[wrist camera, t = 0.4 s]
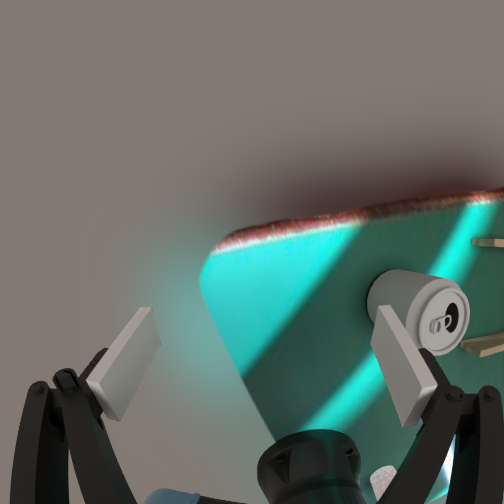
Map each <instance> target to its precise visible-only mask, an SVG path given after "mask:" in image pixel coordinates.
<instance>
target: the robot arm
mask: <svg viewBox="0 0 504 504" xmlns="http://www.w3.org/2000/svg"><path fill="white" fill-rule="evenodd" d="M160 345H161V342H160V338H159V334H158V330H157V326H156V323H155V319H154V314H153V311H152V308H150V307H140V309H139V310H138V311H137V312H136V314H135V315H134V316H133V318H132V319H131V320H130V321H129V323H128V324H127V325H126V327H125V328H124V329H123V331H122V332H121V333H120V335H119V336H118V337H117V338H116V340H115V341H114V342H113V344H112V345H111V346H110V348H104V349H102V350H101V351H99V352H98V353H97V354H96V355H95V357H94V358H93V360H92V361H91V362H90V363H89V365H88V366H87V367H86V368H85V370H84V371H83V373H82V374H81V375H80V377H79V378H78V377H77V375H76V373H75V371H74V370H73V369H70V368H65V369H62V370H59V371H58V372H56V373H55V375H54V376H53V382H54V384H55V386H56V387H57V389H50V387H49V386H48V384H47V383H46V382H45V381H38V382H36V383H33V384H32V385H31V386H30V388H29V390H28V394H27V397H26V401H25V405H24V409H23V413H22V417H21V422H20V426H19V431H18V436H17V441H16V447H15V454H14V461H13V468H12V477H11V490H10V504H69V486H68V454H69V452H68V451H69V450H70V454H71V458H72V462H73V465H74V469H75V473H76V476H77V480H78V483H79V486H80V489H81V492H82V495H83V498H84V501H85V504H137V502H136V500H135V498H134V496H133V494H132V492H131V490H130V488H129V486H128V484H127V482H126V479H125V477H124V475H123V473H122V470H121V468H120V466H119V463H118V461H117V458H116V456H115V453H114V451H113V448H112V446H111V443H110V440H109V437H108V435H107V432H106V429H105V426H104V423H103V420H102V419H101V417H100V416H101V414H102V412H104V413H105V415H106V417H107V418H109V419H112V420H116V421H121V419H122V417H123V415H124V413H125V411H126V409H127V407H128V405H129V404H130V402H131V399H132V398H133V396H134V394H135V392H136V390H137V388H138V386H139V384H140V383H141V381H142V379H143V377H144V375H145V373H146V371H147V369H148V367H149V366H150V364H151V362H152V360H153V358H154V356H155V354H156V353H157V351H158V349H159V347H160ZM371 346H372V349H373V351H374V354H375V356H376V358H377V361H378V363H379V366H380V368H381V371H382V373H383V376H384V379H385V381H386V384H387V386H388V389H389V392H390V394H391V397H392V400H393V402H394V405H395V408H396V411H397V414H398V416H399V419H400V422H401V425H402V428H403V427H408V426H412V425H416V424H417V423H418V421H419V419H420V418H422V420H423V425H422V426H421V428H420V429H419V431H418V433H417V434H416V438H415V440H414V442H413V444H412V446H411V448H410V450H409V452H408V454H407V455H406V457H405V459H404V461H403V462H402V464H401V466H400V468H399V469H398V471H397V473H396V474H395V476H394V478H393V479H392V481H391V482H390V484H389V485H388V487H387V488H386V490H385V491H384V493H383V494H382V496H381V497H380V499H379V500H378V502H377V503H376V504H424V502H425V500H426V498H427V497H428V495H429V493H430V491H431V489H432V487H433V485H434V483H435V481H436V478H437V476H438V474H439V472H440V470H441V467H442V465H443V463H444V460H445V458H446V456H447V453H448V451H449V448H450V445H451V443H452V440H453V437H454V434H456V439H455V450H454V459H453V466H452V473H451V479H450V485H449V490H448V495H447V500H446V504H502V502H503V492H504V420H503V410H502V401H501V395H500V392H499V391H498V390H497V389H496V388H495V387H493V386H484V387H482V388H481V389H480V391H479V392H478V394H465V393H464V391H463V390H462V389H461V388H459V387H457V386H452V385H451V384H450V382H449V381H448V379H447V377H446V376H445V374H444V372H443V370H442V369H441V367H439V364H438V362H437V361H436V359H435V357H434V356H433V354H432V353H431V352H430V351H428V350H427V349H426V348H421V349H417V347H416V346H415V344H414V342H413V341H412V339H411V337H410V336H409V334H408V333H407V331H406V329H405V328H404V326H403V324H402V323H401V321H400V320H399V318H398V317H397V315H396V313H395V312H394V310H393V309H392V307H391V306H390V305H383V306H378V309H377V315H376V320H375V325H374V330H373V335H372V340H371ZM360 468H361V458H360V454H359V452H358V449H357V447H356V445H355V443H354V442H353V441H352V440H351V439H350V438H349V437H348V436H346V435H344V434H342V433H339V432H336V431H330V430H312V431H305V432H301V433H297V434H294V435H291V436H288V437H286V438H284V439H282V440H280V441H278V442H276V443H275V444H273V445H272V446H271V447H269V448H268V449H267V450H266V451H265V452H264V453H263V455H262V456H261V457H260V459H259V462H258V467H257V476H258V477H257V478H258V482H259V485H260V487H261V489H262V491H263V493H264V494H265V496H266V498H267V500H268V502H269V503H270V504H367V502H366V500H365V498H364V495H363V493H362V491H361V488H360ZM143 504H245V503H238V502H231V501H225V500H219V499H214V498H209V497H204V496H200V494H197V493H194V494H190V493H185V492H180V491H176V490H171V489H166V488H161V489H157V490H155V491H153V492H152V493H151V494H150V495H149V496H148V497H147V498H146V500H145V501H144V503H143Z"/></svg>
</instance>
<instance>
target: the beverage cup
mask: <svg viewBox="0 0 504 504" xmlns="http://www.w3.org/2000/svg"><path fill="white" fill-rule="evenodd" d="M396 473H397V471H396V470H395V469H394V467H393V466H385V467H382V468H380V469H378V470H376V471H375V472H374V473H373V474H372V475H371V477H370V481H371V484H372V487H373V490H374V492H375V495H376V498H377V501H378V500H379V499H380V497H381V496H382V494H383V493H384V491H385V490H386V488H387V487H388V485H389V484H390V482H391V481H392V479H393V478H394V476H395V474H396Z"/></svg>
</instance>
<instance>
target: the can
mask: <svg viewBox="0 0 504 504" xmlns="http://www.w3.org/2000/svg"><path fill="white" fill-rule="evenodd" d="M383 305H390V306H391V307H392V309H393V310H394V312H395V313H396V315H397V317H398V318H399V320H400V321H401V323H402V324H403V326H404V328H405V329H406V331H407V333H408V334H409V336H410V337H411V339H412V341H413V342H414V344H415V346H416V347H417V349H421V348H426V349H427V350H428V351H430V352H431V353H432V354H433V356H434V355H435V356H440V355H443V354H446V353H448V352H449V351H451V350H452V349H454V348H455V347H456V345H457V344H458V343H459V342H460V341H461V339H462V337H463V336H464V334H465V332H466V329H467V326H468V323H469V315H470V309H469V302H468V300H467V298H466V296H465V294H464V293H463V292H462V291H461V289H460V287H459V286H458V285H457V284H456V283H455V282H453V281H452V280H449V279H445V278H441V277H436V276H431V275H426V274H421V273H416V272H411V271H405V270H400V269H395V270H389V271H387V272H385V273H383V274H382V275H381V276H380V277H379V278H377V279H376V280H375V282H374V283H373V285H372V287H371V289H370V291H369V295H368V298H367V310H368V313H369V317H370V319H371V320H372V321H373V323H374V324H375V320H376V315H377V309H378V306H383Z"/></svg>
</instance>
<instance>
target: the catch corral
mask: <svg viewBox="0 0 504 504" xmlns="http://www.w3.org/2000/svg"><path fill="white" fill-rule="evenodd" d="M472 246H485V247H500V248H504V239H472ZM460 347H461V348H462V349H464V350H466V351H468V352H470V353H472V354H474V355H476V356H478V357H479V358H480V357H483V356H486V355H490V354H493V353H496V352H499V351H503V350H504V331H503V332H499V333H495V334H490V335H486V336H482V337H477V338H473V339H468V340H463V341H461V344H460Z"/></svg>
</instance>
